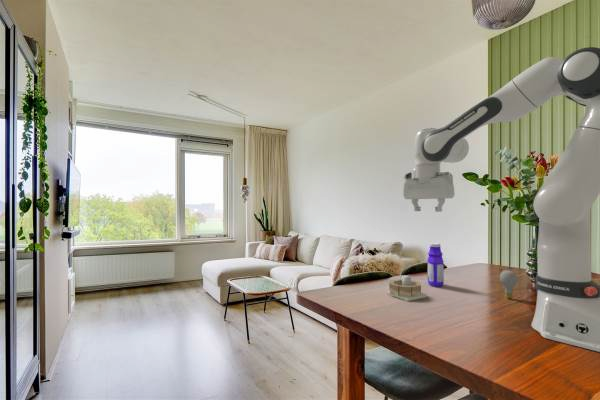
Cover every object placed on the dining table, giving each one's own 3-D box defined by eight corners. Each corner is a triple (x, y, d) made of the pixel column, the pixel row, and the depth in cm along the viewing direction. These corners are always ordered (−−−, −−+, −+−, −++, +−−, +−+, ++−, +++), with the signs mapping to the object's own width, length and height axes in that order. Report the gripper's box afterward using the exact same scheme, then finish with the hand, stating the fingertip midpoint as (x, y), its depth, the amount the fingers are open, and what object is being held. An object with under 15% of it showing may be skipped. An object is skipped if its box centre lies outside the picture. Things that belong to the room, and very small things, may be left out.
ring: (427, 293, 119) (427, 284, 119) (405, 298, 114) (405, 288, 114) (404, 287, 129) (404, 278, 129) (383, 291, 124) (383, 281, 124)
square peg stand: (427, 296, 119) (426, 277, 119) (407, 301, 114) (407, 281, 114) (406, 290, 128) (405, 272, 128) (386, 294, 123) (386, 275, 123)
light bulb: (500, 299, 115) (500, 271, 115) (499, 295, 120) (498, 268, 120) (519, 301, 112) (518, 272, 112) (517, 297, 117) (516, 269, 117)
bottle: (446, 287, 132) (445, 244, 132) (432, 287, 132) (431, 244, 132) (439, 283, 139) (438, 242, 140) (425, 283, 140) (425, 242, 140)
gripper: (458, 171, 112) (458, 211, 112) (412, 176, 130) (412, 210, 130) (446, 170, 109) (446, 212, 109) (400, 175, 127) (400, 211, 127)
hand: (427, 211), depth 120 cm, fingers open, 8 cm apart
